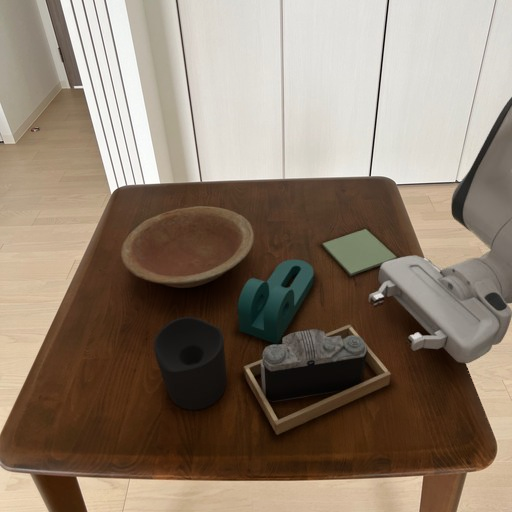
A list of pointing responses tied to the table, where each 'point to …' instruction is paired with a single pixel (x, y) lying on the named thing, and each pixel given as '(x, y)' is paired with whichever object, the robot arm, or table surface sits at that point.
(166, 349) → the pen holder
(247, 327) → the bracket
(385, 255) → the mat
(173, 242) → the bowl
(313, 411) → the rectangular wooden frame
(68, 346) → the table surface
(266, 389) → the camera
